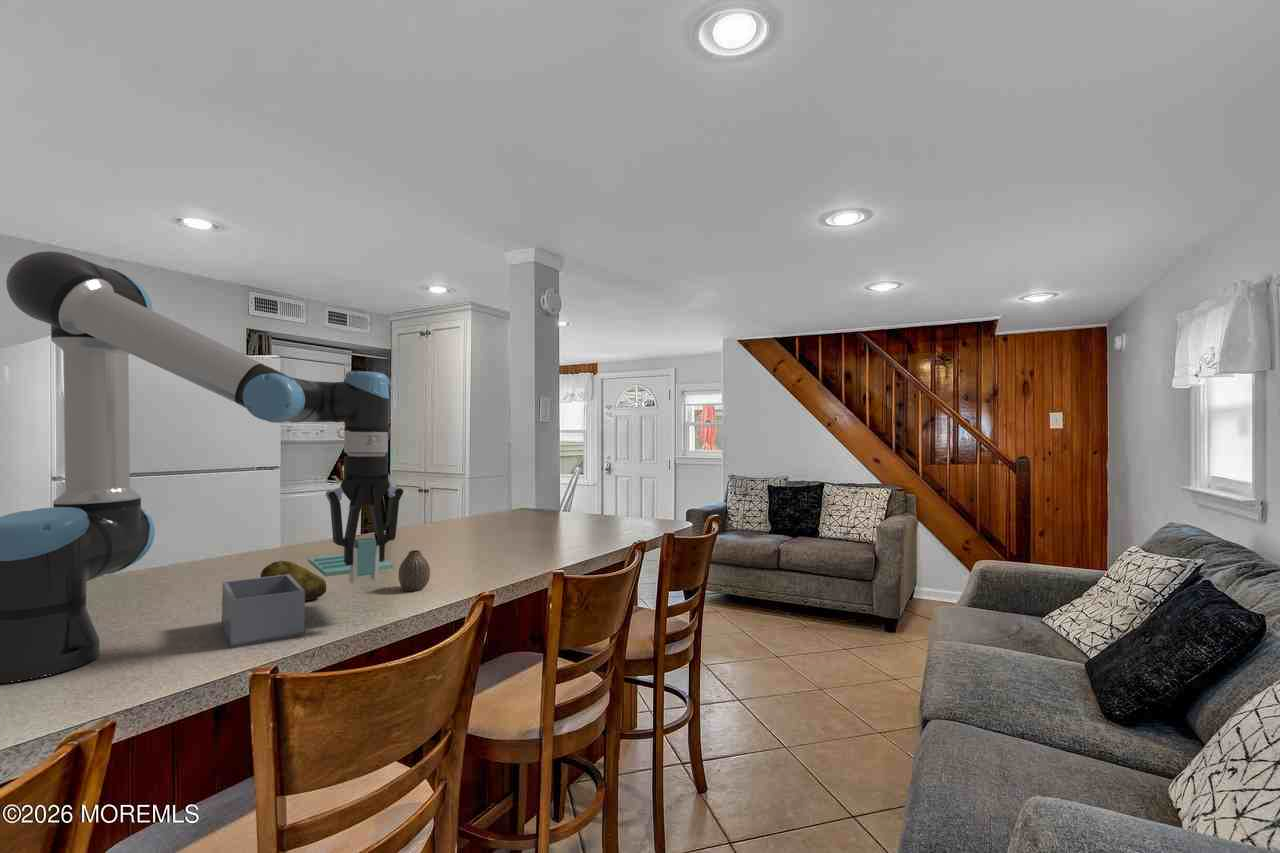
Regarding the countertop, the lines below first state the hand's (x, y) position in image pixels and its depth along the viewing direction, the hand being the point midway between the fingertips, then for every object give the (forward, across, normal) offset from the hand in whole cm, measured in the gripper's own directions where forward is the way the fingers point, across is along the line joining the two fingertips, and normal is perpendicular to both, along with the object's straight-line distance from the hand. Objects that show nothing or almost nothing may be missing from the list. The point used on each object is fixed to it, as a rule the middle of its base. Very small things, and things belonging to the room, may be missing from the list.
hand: (364, 580), depth 116 cm
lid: (-1, 0, +8) cm, 8 cm away
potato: (+9, -7, +28) cm, 30 cm away
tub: (+9, -15, +9) cm, 20 cm away
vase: (+9, +17, +22) cm, 29 cm away
